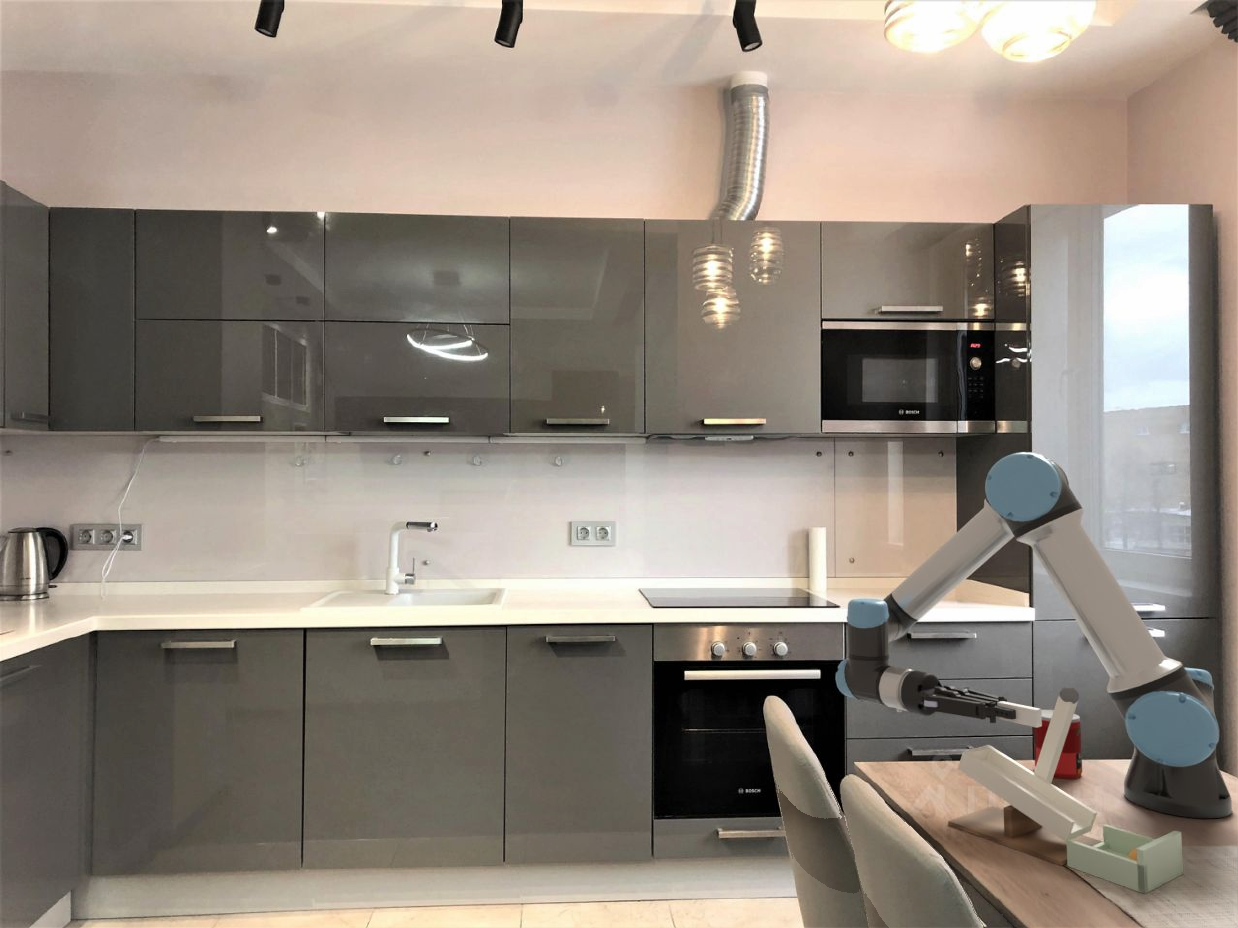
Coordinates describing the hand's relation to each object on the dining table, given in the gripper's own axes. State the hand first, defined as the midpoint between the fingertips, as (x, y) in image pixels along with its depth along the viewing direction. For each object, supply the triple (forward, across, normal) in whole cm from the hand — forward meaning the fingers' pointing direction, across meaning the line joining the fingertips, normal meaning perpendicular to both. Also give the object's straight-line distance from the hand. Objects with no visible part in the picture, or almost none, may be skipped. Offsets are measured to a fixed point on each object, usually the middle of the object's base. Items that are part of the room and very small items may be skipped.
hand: (1038, 718), depth 127 cm
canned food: (-13, -30, -17) cm, 37 cm away
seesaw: (-1, +3, -12) cm, 12 cm away
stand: (0, +4, -17) cm, 18 cm away
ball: (+16, +4, -15) cm, 23 cm away
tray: (+14, +4, -17) cm, 23 cm away
